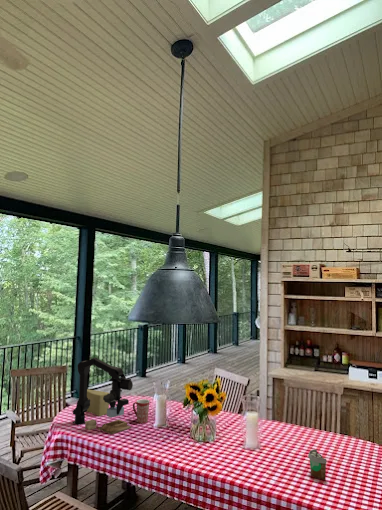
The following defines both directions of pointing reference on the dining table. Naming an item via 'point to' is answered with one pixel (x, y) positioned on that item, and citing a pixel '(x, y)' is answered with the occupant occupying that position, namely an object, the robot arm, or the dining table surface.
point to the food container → (317, 465)
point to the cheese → (97, 402)
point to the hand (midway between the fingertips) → (115, 413)
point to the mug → (141, 410)
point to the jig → (114, 427)
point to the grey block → (114, 412)
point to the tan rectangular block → (90, 424)
